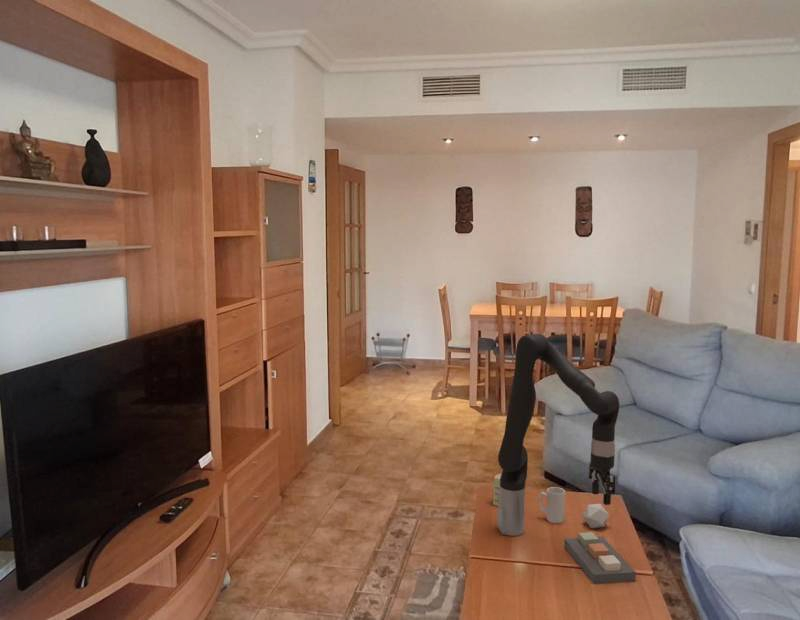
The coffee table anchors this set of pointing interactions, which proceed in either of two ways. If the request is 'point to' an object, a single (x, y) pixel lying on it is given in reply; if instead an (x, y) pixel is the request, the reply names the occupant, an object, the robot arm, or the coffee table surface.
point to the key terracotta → (597, 550)
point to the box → (496, 490)
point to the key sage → (587, 539)
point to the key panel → (592, 566)
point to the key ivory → (609, 563)
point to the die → (595, 516)
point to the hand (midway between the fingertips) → (600, 499)
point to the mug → (553, 504)
